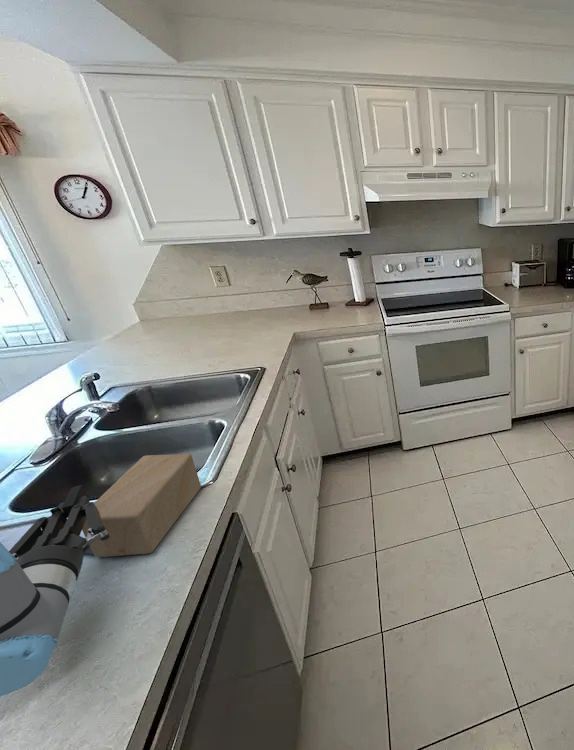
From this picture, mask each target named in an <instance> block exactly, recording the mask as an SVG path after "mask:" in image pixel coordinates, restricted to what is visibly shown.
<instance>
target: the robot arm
mask: <svg viewBox="0 0 574 750" xmlns="http://www.w3.org/2000/svg"><path fill="white" fill-rule="evenodd" d="M88 497H89V495H88V493H87V491H86V489H85V488H84V486H83V485H82V484H79V485H76V486H73V487H70V490H69V491H68V493H67V496H66V498H65V500H64V501H63V502H60V503H59V504H58V505H57V506H55V507H53V508H51V509H50V510H49V512H50V513H51V515H50V516H48V517H47V516H41V517H40V518H38V519H36V521H35V522H34V523H33V524H32V525H31V526H30V527H29V528H28V529H27V530H26V532H25V533H23V535H22V536H21V537H20V538H19V539H18V540H17V542H16V543H15V544H14V545H13V546H12V547H11V548H10V549H9V550H8V549H7V548H6V547H5V546H4V544H3V543H2V542H1V541H0V697H4V696H7V695H10V694H12V693H13V692H16V691H20V690H21V689H23V688H25V687H27V686H28V685H30V684H31V683H34V681H36V680H37V679H38V678H39V677H40V676H41V675H42V674H43V672H44V671H45V669H46V668H47V667H48V665H49V663H50V659H51V656H52V654H53V652H54V651H55V650H56V648H57V647H58V640H59V638H60V633H61V631H62V628H63V624H64V621H65V617H66V616H67V611H68V608H69V607H68V606H69V604H70V601H71V599H72V595H73V592H74V589H75V586H76V583H77V581H78V579H79V576H80V574H81V573H80V572H81V570H82V567H83V562H84V554H85V553H86V552H87V551H88V550H89V548H90V544H92V543H93V542H95V541H97V540H98V539H99V540H101V541H104V540H106V539H108V538H109V537H110V535H109V533H108V532H107V530H106V528H105V527H104V525H103V524H102V521H101V517H100V513H99V511H98V509H97V508H96V506H95V504H94V503H95V502H93V501H90V499H89V498H88ZM86 519H87V522H88V526H89V529H88V533H87V537H83V536H81V534H82V532H83V531H82V528H83V525H84V523H85V520H86Z"/></svg>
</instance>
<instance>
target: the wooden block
mask: <svg viewBox="0 0 574 750" xmlns="http://www.w3.org/2000/svg"><path fill="white" fill-rule="evenodd" d="M201 488H202V485H201V481H200V477H199V475H198V472H197V468H196V464H195V462H194V459H193V456H192V454H191V453H179V454H153V455H152V454H150V455H143V456H142V457H140V458H139V459H138V460H137V461H136V462H135V463H134V464H133V465H132V466H131V467H130V468H129V469H128V470H127V471H125V473H124V474H122V476H121V477H120V478H119V479H118V480H116V482H114V483H113V484H112V485H111V486H110V487H109V488H108V489H107V490H106V491H105V492H104V493H103V494H102V495H100V497H98V498H97V500H95V501H94V502H93V503H94V504H95V506H96V508H97V509H98V511H99V513H100V517H101V521H102V524H103V525H104V527H105V528H106V530H107V532H108V533H109V535H110V537H109V538H108V539H106V540H104V541H101V540H99V539H98V540H97V541H95V542H93V543H92V544H90V547H91V550H92V552H93V554H94V555H93V556H94V557H95V558H104V557H105V558H108V557H119V556H132V555H134V556H135V555H147V554H148V555H149V554H151V553H153V552H154V551H155V550H156V548H157V547H158V545H159V544H160V543H161V542H162V540H163V539H164V538H165V536H166V535H167V533H168V532H169V531H170V529H171V528H172V527H173V526H174V524H175V523H176V522H177V520H178V519H179V518H180V517H181V515H182V513H184V511H185V510H186V509H187V507H188V506H189V505H190V503H191V502H192V501H193V499H194V498H195V497H196V495H197V494H198V492H199V491H200V490H201ZM88 529H89V526H88V522H87V519H86V520H85V523H84V525H83V528H82V531H81V532H82V533H83V535H84V538H86V537H87V533H88ZM107 556H108V557H107Z"/></svg>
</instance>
